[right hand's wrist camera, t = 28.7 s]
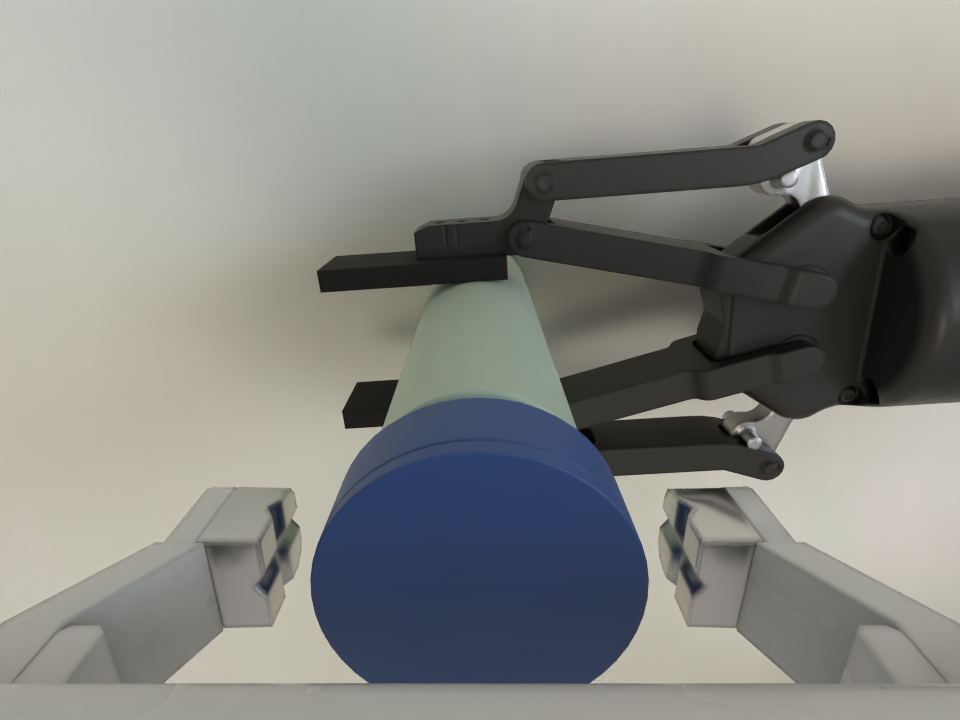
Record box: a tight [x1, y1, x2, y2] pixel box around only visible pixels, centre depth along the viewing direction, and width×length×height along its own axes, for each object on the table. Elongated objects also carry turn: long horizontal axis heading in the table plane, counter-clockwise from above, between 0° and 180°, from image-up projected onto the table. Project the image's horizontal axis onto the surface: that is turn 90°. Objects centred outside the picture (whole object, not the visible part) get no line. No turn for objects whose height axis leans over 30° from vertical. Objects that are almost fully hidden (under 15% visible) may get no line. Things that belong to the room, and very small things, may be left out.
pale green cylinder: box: [382, 255, 577, 430], centre depth 18 cm, size 5×5×19 cm
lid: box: [311, 398, 649, 684], centre depth 9 cm, size 5×5×2 cm
